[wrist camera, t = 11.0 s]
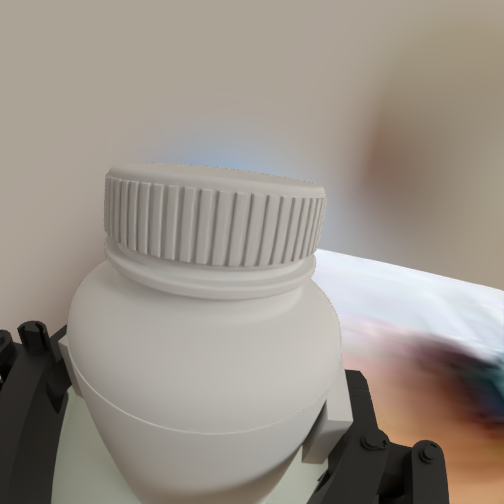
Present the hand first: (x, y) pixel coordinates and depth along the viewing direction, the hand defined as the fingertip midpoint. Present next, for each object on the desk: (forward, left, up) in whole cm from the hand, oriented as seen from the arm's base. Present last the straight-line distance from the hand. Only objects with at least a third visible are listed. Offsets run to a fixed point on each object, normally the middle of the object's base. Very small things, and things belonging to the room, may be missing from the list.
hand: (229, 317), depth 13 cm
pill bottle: (+1, +5, -8) cm, 9 cm away
